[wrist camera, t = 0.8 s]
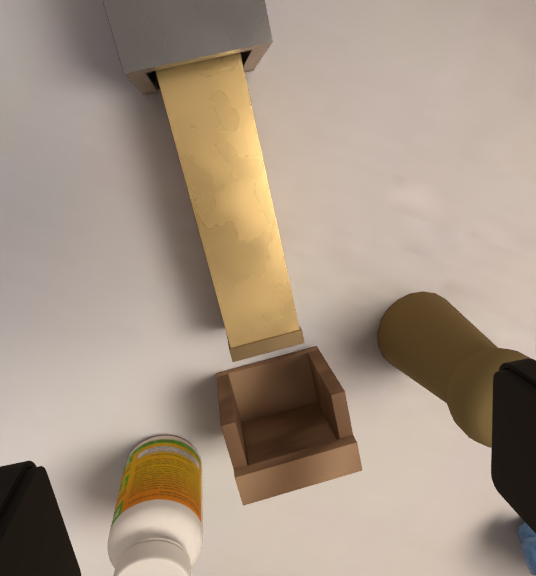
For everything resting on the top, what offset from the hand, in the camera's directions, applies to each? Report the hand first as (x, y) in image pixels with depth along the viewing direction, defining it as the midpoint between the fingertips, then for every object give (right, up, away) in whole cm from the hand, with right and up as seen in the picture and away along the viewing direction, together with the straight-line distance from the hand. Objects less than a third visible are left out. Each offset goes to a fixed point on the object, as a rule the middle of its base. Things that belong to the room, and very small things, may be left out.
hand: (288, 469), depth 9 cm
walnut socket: (0, -4, +23) cm, 23 cm away
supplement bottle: (-8, -9, +23) cm, 26 cm away
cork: (+10, +1, +23) cm, 26 cm away
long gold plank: (-4, +13, +17) cm, 22 cm away
